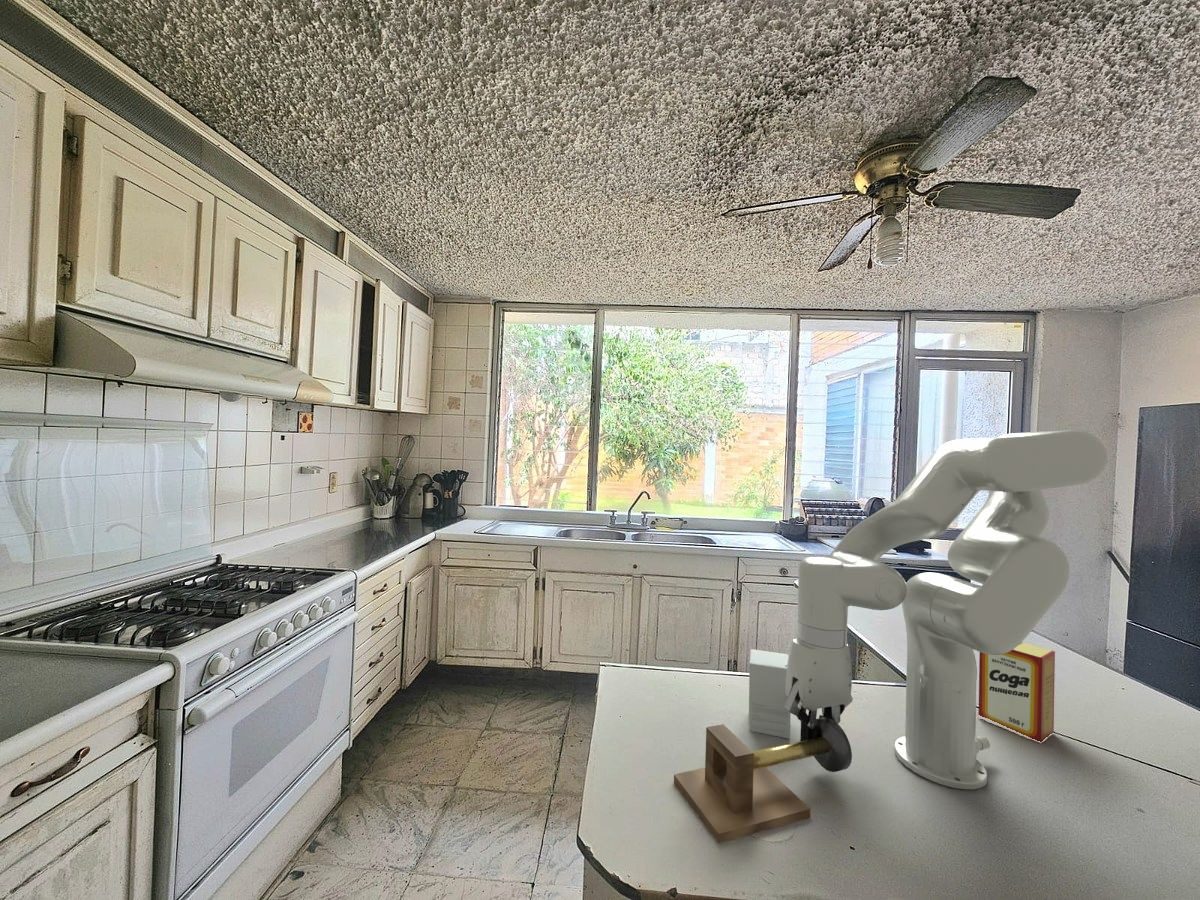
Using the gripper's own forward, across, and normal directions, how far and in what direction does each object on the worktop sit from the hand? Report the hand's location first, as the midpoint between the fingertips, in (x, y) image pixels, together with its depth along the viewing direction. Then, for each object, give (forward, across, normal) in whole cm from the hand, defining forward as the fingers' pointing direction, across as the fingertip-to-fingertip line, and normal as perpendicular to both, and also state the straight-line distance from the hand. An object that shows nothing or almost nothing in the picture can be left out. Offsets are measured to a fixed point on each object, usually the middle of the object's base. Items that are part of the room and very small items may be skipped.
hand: (818, 745), depth 78 cm
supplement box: (+4, 0, -12) cm, 13 cm away
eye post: (+3, +17, +3) cm, 17 cm away
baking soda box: (+3, -47, +2) cm, 47 cm away
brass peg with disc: (+2, +7, +3) cm, 8 cm away
